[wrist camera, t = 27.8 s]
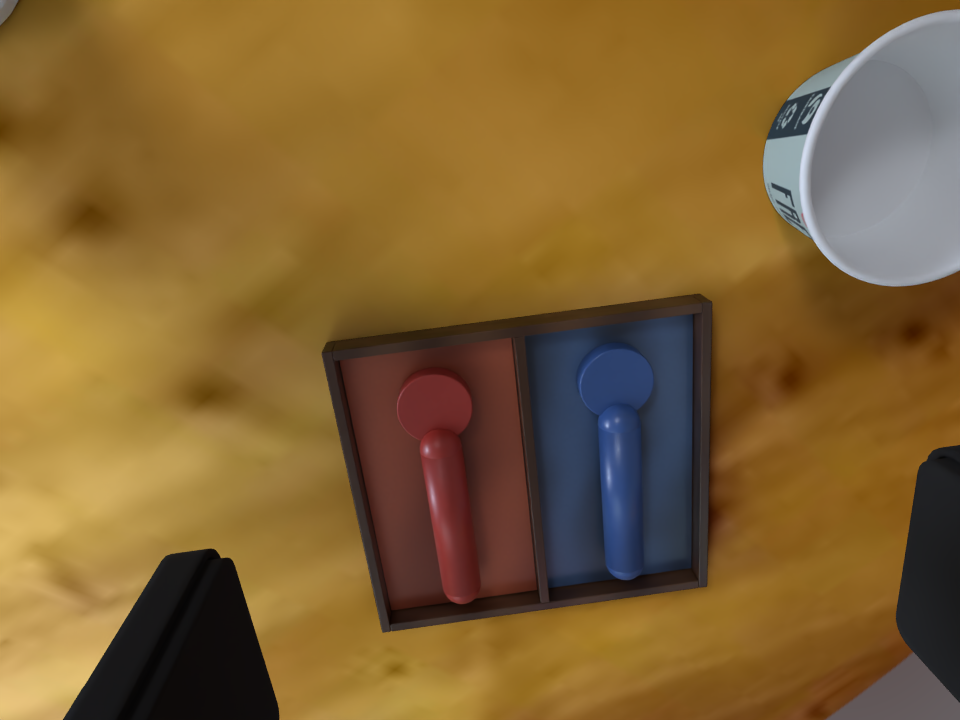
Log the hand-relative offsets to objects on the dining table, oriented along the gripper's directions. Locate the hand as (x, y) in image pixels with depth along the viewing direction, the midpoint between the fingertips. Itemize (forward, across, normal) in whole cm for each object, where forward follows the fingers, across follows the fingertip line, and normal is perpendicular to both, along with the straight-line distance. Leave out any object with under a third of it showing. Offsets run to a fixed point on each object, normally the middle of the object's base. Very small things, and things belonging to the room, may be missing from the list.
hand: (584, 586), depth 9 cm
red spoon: (+28, +3, +15) cm, 32 cm away
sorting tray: (+28, -2, +15) cm, 32 cm away
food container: (+28, -21, -2) cm, 35 cm away
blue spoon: (+28, -7, +15) cm, 32 cm away
